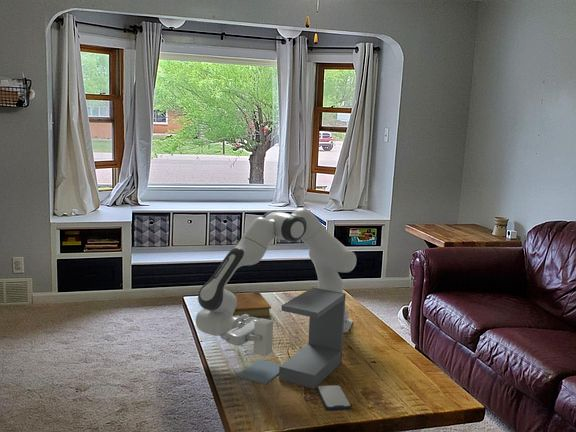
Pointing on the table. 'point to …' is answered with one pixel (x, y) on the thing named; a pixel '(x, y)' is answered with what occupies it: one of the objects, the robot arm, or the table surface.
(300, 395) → the table surface
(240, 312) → the diary
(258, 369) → the mat
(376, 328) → the table surface
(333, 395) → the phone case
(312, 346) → the grey c-shaped bracket
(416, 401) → the table surface
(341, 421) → the table surface
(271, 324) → the block
